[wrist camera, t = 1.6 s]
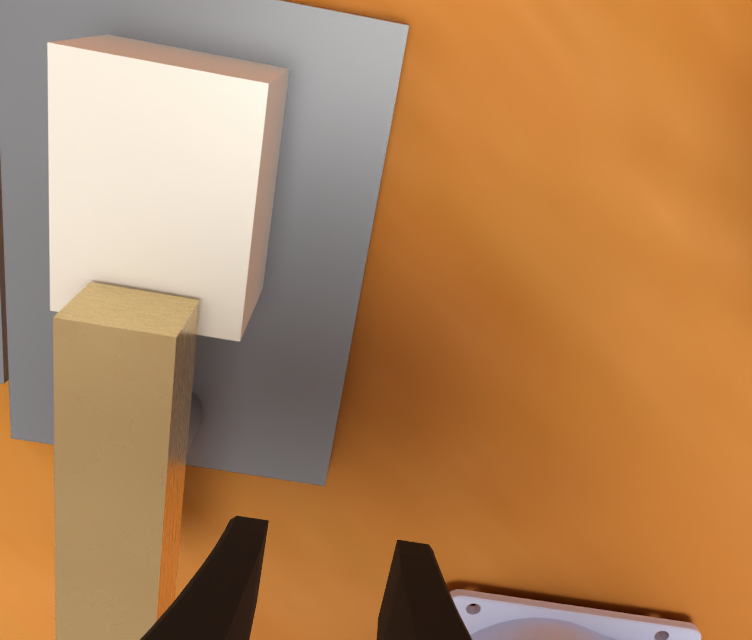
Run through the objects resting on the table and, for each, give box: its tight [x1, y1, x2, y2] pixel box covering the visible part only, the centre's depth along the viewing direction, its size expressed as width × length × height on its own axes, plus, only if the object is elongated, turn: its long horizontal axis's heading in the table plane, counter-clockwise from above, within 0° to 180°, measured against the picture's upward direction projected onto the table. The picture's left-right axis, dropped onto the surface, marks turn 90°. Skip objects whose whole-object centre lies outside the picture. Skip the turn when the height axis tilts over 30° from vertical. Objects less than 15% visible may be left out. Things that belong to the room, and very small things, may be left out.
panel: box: [0, 0, 409, 486], centre depth 19 cm, size 10×14×5 cm
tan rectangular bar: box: [53, 282, 200, 640], centre depth 18 cm, size 2×11×2 cm, turn 170°
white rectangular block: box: [47, 34, 290, 342], centre depth 17 cm, size 4×6×4 cm
